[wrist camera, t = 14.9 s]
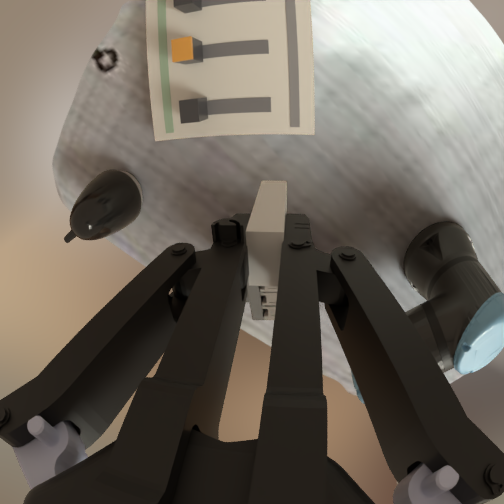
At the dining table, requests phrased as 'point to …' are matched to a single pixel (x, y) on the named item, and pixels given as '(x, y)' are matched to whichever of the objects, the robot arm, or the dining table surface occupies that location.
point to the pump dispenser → (105, 206)
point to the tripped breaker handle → (187, 50)
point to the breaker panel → (231, 68)
